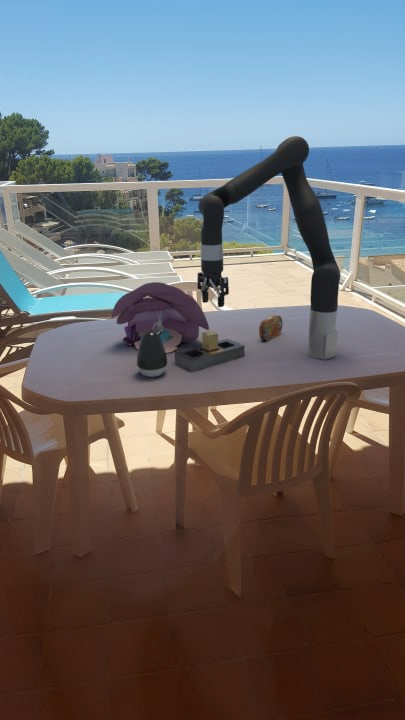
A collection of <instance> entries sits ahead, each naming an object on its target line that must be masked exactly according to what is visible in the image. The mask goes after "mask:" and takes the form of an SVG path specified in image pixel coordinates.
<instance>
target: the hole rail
mask: <svg viewBox="0 0 405 720" xmlns="http://www.w3.org/2000/svg"><path fill="white" fill-rule="evenodd" d="M245 346H246V345H243V344H242V343H240V342H236V341H234V340H231V339H228V338H225V339H220V340H218V350H217V351H213V352H210V353H207V352H205V351H203V350H202V345H199V346H196V347H192V348H188V349H185V350H181V351H178V352H174V363H175V365H178V367H181V368H182V369H184V370H187V371H188V372H190V373H193V372H195V371H199V370H203V369H206V368H209V367H213V366H216V365H219V364H222V363H226V362H229V361H232V360H235V359H238V358H242V357H245V353H246V352H245V349H246V348H245Z"/></svg>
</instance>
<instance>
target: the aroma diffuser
mask: <svg viewBox="0 0 405 720" xmlns="http://www.w3.org/2000/svg"><path fill="white" fill-rule="evenodd" d="M162 332H163V331H162V330H160V331H159V332H157V333H156V332H154V331H148V332H146V333H144V335H143V336H142V338H141V341H140V344H139V348H138V349H137V354H136V367H137V368H138V370H139V372H140V373H141V374H142V375H143V376H146V377H149V378H155V377H159V376H161V375H162V374H164V372H165V371H166V368H167V365H168V357H167V356H168V355H167V353H166V352H165V348H164V345H163V343H162V341H161V339H160V337H159V336H160V335H161V334H162Z"/></svg>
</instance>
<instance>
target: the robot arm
mask: <svg viewBox="0 0 405 720" xmlns="http://www.w3.org/2000/svg"><path fill="white" fill-rule="evenodd" d="M309 154H310V145H309V143H308V141H307V140H306V139H305V138H303V137H301V136H298V135H296V136H295V135H293V136H290V137H288V138H286V139H284V141H282V142H281V143H279V144H278V146H277V148H276V149H275V151H273V153H271V154H270V155H268V156H267V157H265V159H263V160H261V161H260V162H258V163H257V164H255V165H253V166H251V167H250V168H248V169H246V170H245V171H243V172H241V173H240V174H238V175H236V176H235V177H234V178H231V180H229V181H227V182H226V183H225V184H224V185H221V186H220V187H218V188H216V189H214V190H212V191H210V192H209V193H207V194H205V195H204V196H203V197H201V199H200V200H199V202H198V211H199V213H200V214H201V215H202V225H203V226H202V228H201V231H200V243H201V245H200V269H201V271H200V272H197V284H196V285H197V289H198V290H200V292H201V299H202V303H204V304H206V303H208V302H209V300H210V298H209V289H210V288H211V289H213V291H214V292H216V295H217V307H218V308H223V307H225V296H228V295H229V294H230V291H229V289H230V287H229V277H228V276H224V277H223V276H222V273H223V271H224V247H223V224H224V218H225V209H226V208H227V207H229V206H232V205H234V204H236V203H239V202H241V201H242V200H244V199H245V198H246V197H248V196H249V195H251V194H252V193H253V192H255V191H257V190H258V189H259V188H261V187H262V186H263V185H265V184H266V183H267V182H269V181H270V180H272V179H273V178H275V177H277V176H278V175H280V174H281V177H282V178H283V179H282V180H283V182H284V184H285V187H286V189H287V194H288V197H289V201H290V205H291V207H292V213H293V216H294V219H295V223H296V226H297V229H298V231H299V234H300V237H301V238H302V240H303V243H304V244H305V246H306V248H307V250H308V252H309V255H310V259H311V260H310V261H311V263H312V268H313V270H312V271H313V272H312V274H311V284H310V298H309V299H310V300H309V301H310V310H309V327H308V343H307V344H308V345H307V355H308V356H309V357H310V358H313V359H318V360H319V359H320V360H324V361H325V360H328V359H331V358H334V357H336V356H337V348H338V347H337V346H338V333H339V332H338V331H337V329H336V328H337V318H338V308H339V307H338V306H339V305H338V304H339V303H338V302H339V288H340V279H341V275H342V273H341V270H340V268H339V266H338V263H337V261H336V259H335V258H336V257H335V255H334V253H333V250H332V248H331V247H332V246H331V244H330V238H329V233H328V228H327V227H328V226H327V223H326V218H325V215H324V212H323V208H322V205H321V202H320V199H318V196H317V195H316V193H315V191H314V190H313V188H312V187H311V185H310V183H309V182H308V181H309V180H308V179H307V175H306V173H305V172H306V171H305V167H304V163H305V162H306V161H307V159H308V157H309Z"/></svg>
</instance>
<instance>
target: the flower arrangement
mask: <svg viewBox="0 0 405 720" xmlns="http://www.w3.org/2000/svg"><path fill="white" fill-rule="evenodd" d="M147 296H148V297H147ZM117 316H118V317H117ZM115 317H117V319H116V324H117V325H124V324H127V326H124V329H123V330H124V332H125V335H126V336H124V337H123V338H122V341H123V342H124V343H126V345H127V344H128V345H129V346H131V345H134V347H135V349H136V350H138V348H139V344H140V341H141V338H142V336H143V335H144V333H146V332H148V331H154V332H156V333H157V332H159V331H160V330H162V331H163V332H162V334H161V335H160V336H159V337H160V339H161V341H162V343H163V345H164V348H165V352H166V354H168V353H172V352H173V351H175V350H177V349H179V347H177V346H179V345H180V344H181V342H184V343H185V342H186V343H192V342H193V343H194V342H196V341H197V340H198V338H199V336H200V335H199V333H200V328H202V329H205V330H207V331H210V327H209V322H208V321H207V317H206V315H205V313H204V311H203V309H202V308H201V306H200V305H199V303H198V302H197V300H196V299H195V298H194V297H193V296H192V295H191V294H188V293H186V292H185V291H183V290H182V289H180V288H178V287H176V286H173V285H169V284H167V283H165V282H159V281H158V282H147V283H144V284H141V285H140V286H138V287H137V288H135V289H133V290H131V291H129V292H127V293H125V294H124V295H122V296H121V297H119V299H118V300H117V301H116V302H115V304H114V306H113V310H112V312H111V318H110V319H112V320H113V318H115Z"/></svg>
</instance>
